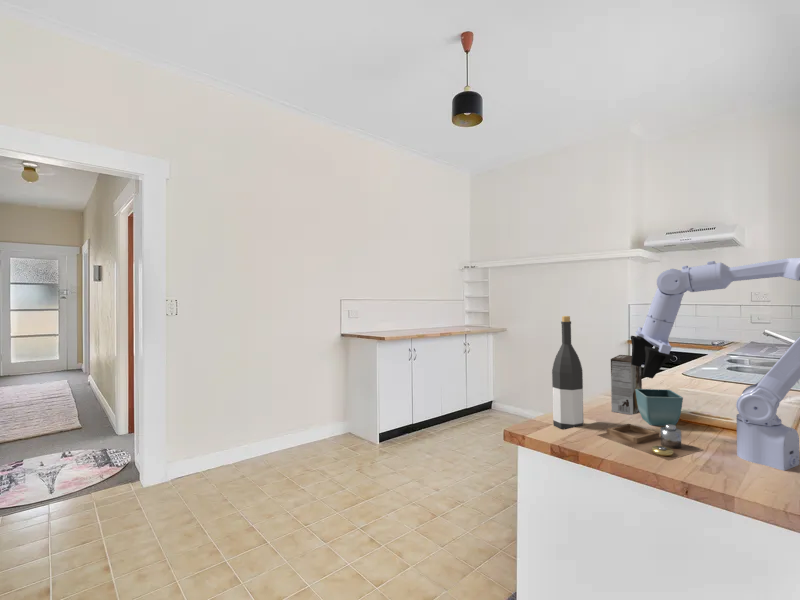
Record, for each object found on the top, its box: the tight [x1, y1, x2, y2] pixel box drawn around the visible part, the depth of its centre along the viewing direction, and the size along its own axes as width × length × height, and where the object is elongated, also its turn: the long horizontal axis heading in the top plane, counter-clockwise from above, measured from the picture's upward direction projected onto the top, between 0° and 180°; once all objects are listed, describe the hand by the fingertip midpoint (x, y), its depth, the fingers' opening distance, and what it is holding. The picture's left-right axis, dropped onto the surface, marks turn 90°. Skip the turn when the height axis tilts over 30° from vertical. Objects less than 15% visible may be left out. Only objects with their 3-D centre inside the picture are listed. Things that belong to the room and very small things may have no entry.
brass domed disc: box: [652, 446, 673, 457], centre depth 93 cm, size 4×4×1 cm
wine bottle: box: [551, 315, 585, 430], centre depth 116 cm, size 8×8×30 cm
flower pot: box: [635, 388, 684, 427], centre depth 114 cm, size 9×9×9 cm
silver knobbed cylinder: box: [660, 424, 682, 449], centre depth 97 cm, size 4×4×5 cm
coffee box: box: [610, 354, 643, 416], centre depth 129 cm, size 9×6×16 cm
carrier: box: [597, 423, 704, 461], centre depth 100 cm, size 18×12×2 cm, turn 25°
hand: (641, 371), depth 104 cm, fingers open, 7 cm apart
